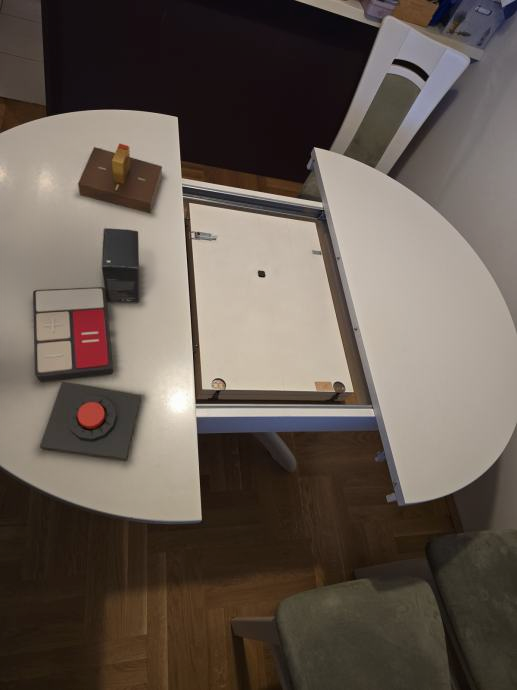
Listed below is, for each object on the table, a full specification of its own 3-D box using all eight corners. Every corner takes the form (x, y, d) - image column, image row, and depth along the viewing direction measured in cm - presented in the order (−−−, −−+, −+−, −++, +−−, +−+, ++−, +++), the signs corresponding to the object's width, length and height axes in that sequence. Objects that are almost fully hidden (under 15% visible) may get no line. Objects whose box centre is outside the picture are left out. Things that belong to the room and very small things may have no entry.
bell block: (42, 449, 57) (36, 444, 54) (64, 386, 62) (59, 377, 58) (126, 461, 59) (125, 456, 56) (141, 399, 64) (141, 391, 61)
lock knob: (123, 184, 78) (122, 162, 74) (113, 181, 78) (111, 159, 73) (130, 167, 81) (129, 145, 76) (120, 164, 80) (119, 142, 76)
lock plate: (80, 195, 78) (77, 182, 75) (95, 158, 83) (93, 146, 80) (150, 213, 81) (150, 202, 78) (161, 177, 86) (162, 165, 83)
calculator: (33, 375, 58) (31, 287, 63) (40, 383, 61) (37, 300, 66) (112, 366, 61) (104, 284, 66) (113, 375, 65) (106, 296, 70)
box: (139, 303, 71) (138, 268, 62) (106, 302, 70) (100, 266, 60) (139, 267, 75) (139, 229, 65) (108, 266, 73) (103, 226, 64)
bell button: (75, 427, 56) (74, 424, 55) (83, 403, 58) (81, 399, 56) (101, 430, 57) (100, 428, 55) (108, 407, 59) (107, 404, 57)
